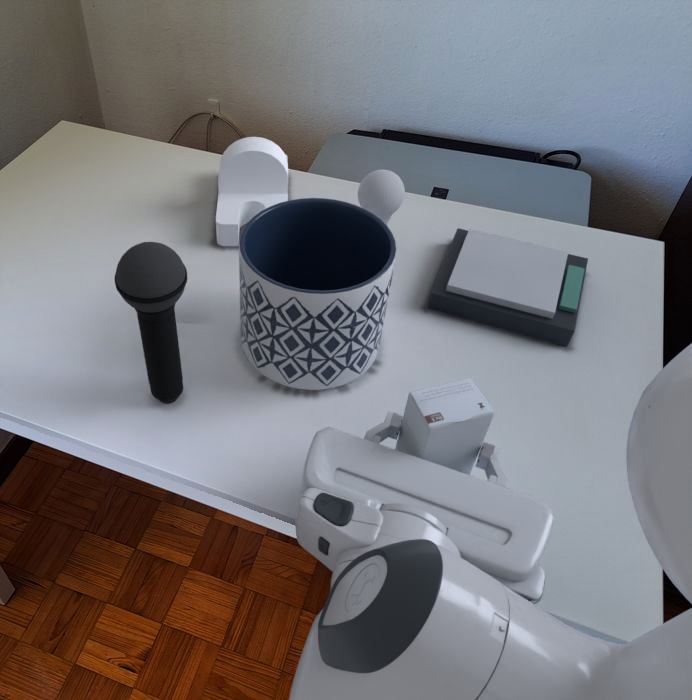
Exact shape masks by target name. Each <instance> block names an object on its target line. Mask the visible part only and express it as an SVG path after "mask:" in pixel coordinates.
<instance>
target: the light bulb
mask: <svg viewBox="0 0 692 700" xmlns="http://www.w3.org/2000/svg"><path fill="white" fill-rule="evenodd" d="M405 195H406V190H405V185H404V182H403V180H402V178H401V177H400V176H399V175H398V174H397V173H395V172H393V171H391V170H388V169H376V170H373V171H371V172H369V173H368V174H366V175H365V176H364V177H363V179H362V180H361V182H360V183H359V185H358V188H357V201H358V204H359V205H360V206H359V207H361V208H364V209H366V210H368V211H369V212H371V213H373V214H374V215H376V216H377V217H378V218H380V219H381V220H382V221H383V222H384V223H385V224H386V225H387V226H388V223H389V222H390V220H391V218H392V216H393V215H394V214H395V213H396V212H397V211H398V210H399V209H400V207H402V204H403V203H404V199H405Z"/></svg>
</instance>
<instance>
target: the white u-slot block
mask: <svg viewBox="0 0 692 700" xmlns="http://www.w3.org/2000/svg"><path fill="white" fill-rule="evenodd" d="M288 160H289V159H288V155H287V154H286V153H285V151H284V150H283V149H282V148H281V147H280V146H279V145H278V144H277V143H275V142H274V141H272V140H271V139H267V138H264V137H259V136H247V137H243V138H240V139H237V140H236V141H234V142H233V143H231V144H230V145H228V147H226V149H225V150H224V151H223V153H222V156H221V158H220V162H219V170H218V179H217V188H218V189H217V190H218V193H217V194H218V195H217V204H216V213H215V231H216V234H215V235H216V243H217V244H218V245H219V246H222V247H239V241H240V230H241V227H243V226H246V224H247V223H248V222H249V221H250V220H251V219H252V218H253V217H254V216H255V215H256V214H258V213H259V212H261V211H262V210H264V209H266V208H268V207H270V206H273V205H275V204H278V203H281V202H285V201H289V163H288Z"/></svg>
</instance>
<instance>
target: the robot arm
mask: <svg viewBox="0 0 692 700" xmlns="http://www.w3.org/2000/svg"><path fill="white" fill-rule="evenodd" d="M403 416H404V415H402V414H399V413H396V412H394V411H391V410H388V411H387V413H386V416H385V419H384V421H383V422H381V423H379V424H377V425H375V426H374V427H372V428H370V429H368V430H367V431H366V432H365V435H364V436H363V437H360V436H357V435H354V434H351V433H348V432H345V431H343V430H340V429H338V428H335V427H331V426H327V427H325V428H321V429H319V430H318V431H316V432H315V434H314V436H313V438H312V441H311V442H310V446H309V449H308V451H307V454H306V458H305V462H304V466H303V473H302V482H301V496H300V499H299V501H298V505H297V507H296V508H297V509H296V514H295V535H296V541H297V543H298V545H300V547H302V549H304V550H305V551H306V552H307V553H309V554H310V555H311V556H313V557H314V558H315V559H317V561H319V562H320V563H322V564H323V565H324V566H325V567H326V568H328V570H330V571H331V572H332V574H331V577H330V578H331V579H330V590H329V593H328V596H327V598H326V600H325V602H324V606H323V608H322V609H321V610H320V611H319V612H318V613H317V615H316V616H315V618H314V620H313V622H312V625H311V627H310V629H309V632H308V635H307V637H306V640H305V643H304V645H303V649H302V651H301V654H300V657H299V661H298V664H297V667H296V670H295V673H294V677H293V680H292V684H291V687H290V692H289V696H288V700H692V607H691V608H689V609H687V610H685V611H683V612H681V613H680V614H678V615H676V616H674V617H672V618H671V619H669V620H667V621H665V622H663V623H661V624H660V625H658V626H656V627H655V628H652V629H651V630H650V631H647V632H645V633H643V634H642V635H640V636H638V637H636V638H634V639H632V640H631V641H629V642H626V643H616V642H611V641H608V640H605V639H601V638H598V637H596V636H592V635H590V634H587V633H585V632H583V631H580V630H578V629H576V628H574V627H571V626H570V625H568V624H566V623H564V622H562V621H561V620H560V619H558V618H556V617H555V616H553V615H551V614H550V613H548V612H547V611H546V610H544V609H542V608H540V607H539V606H537V604H538V603H539V602H540V601H541V600H542V598H543V596H544V590H545V585H546V573H545V570H544V567H543V566H542V564H541V559H542V558H543V556H544V554H545V551H546V548H547V546H548V543H549V541H550V537H551V535H552V532H553V531H552V530H553V527H554V523H555V513H554V512H553V510H552V508H551V507H550V505H549V503H548V502H546V501H545V500H542V499H540V498H536V497H534V496H530V495H528V494H525V493H523V492H519V491H517V490H514V489H512V488H511V489H510V488H508V487H507V483H508V478H507V476H506V474H505V472H504V470H503V468H502V465H501V463H500V461H498V460H499V455H500V452H501V447H500V446H497V445H494V444H491V443H488V442H485V441H483V443H482V446H481V448H480V451H479V453H478V456H477V459H476V462H475V463H476V464H475V467H476V468H478V469H481V470H483V471H484V473H485V475H486V479H487V480H484V479H481V478H479V477H476V476H472V475H471V474H470V475H467V474H464V473H461V472H459V471H456V470H453V469H450V468H447V467H444V466H441V465H438V464H435V463H433V462H430V461H427V460H424V459H421V458H418V457H415V456H412V455H409V454H406V453H404V452H401V451H398V450H395V448H392V447H389V446H386V445H383V444H381V443H382V442H383V441H385V440H387V439H388V438H390V439H393V440H398V436H399V432H400V428H401V424H402V420H403ZM625 448H626V450H625V453H626V454H625V460H626V463H625V464H626V475H627V482H628V487H629V492H630V496H631V500H632V504H633V508H634V511H635V514H636V517H637V520H638V523H639V525H640V529H641V530H642V532H643V535H644V537H645V539H646V542H647V544H648V546H649V547H650V550H651V551H652V554H653V555H654V557H655V558H656V560H657V562H658V563H659V565H660V567H661V568H662V570H663V571H664V573H665V575H666V576H667V577H668V579H669V580H670V581H671V583H672V584H673V585H674V586H675V588H676V589H677V590H678V591H679V592H680V594H681V595H683V597H684V598H685V599H686V600H687V601H688V602H689V603H690V604H691V605H692V342H691V343H690V344H689V345H687V346H686V347H685V348H684V349H683V350H681V351H680V352H679V353H678V354H677V355H675V357H673V358H672V359H671V360H670V361H669V362H668V363H667V364H666V365H665V366H664V367H663V368H662V369H661V370H660V371H659V372H658V373H657V374H656V375H655V376H654V378H653V379H652V380H651V381H650V382H649V383H648V384H647V386H646V387H645V389H644V390H643V392H642V393H641V395H640V397H639V400H638V401H637V404H636V406H635V408H634V411H633V414H632V417H631V421H630V425H629V428H628V433H627V440H626V447H625Z"/></svg>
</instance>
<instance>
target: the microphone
mask: <svg viewBox="0 0 692 700" xmlns="http://www.w3.org/2000/svg"><path fill="white" fill-rule="evenodd" d="M187 282H188V270H187V267H186V265H185V264H184V262H183V260H182V258H181V257H180V256H179V254H178V253H177V252H176V250H174V249H173V248H171V247H170V246H168V245H166V244H164V243H162V242H158V241H157V242H156V241H143V242H140V243H136V244H135V245H133V246H131V247H129V248H128V249H127V250H126V251H125V252H124V253H123V254H122V255H121V257H120V259H119V261H118V263H117V265H116V270H115V273H114V285H115V289H116V291H117V292H118V294H119V295H120V296H121V298H122V299H123V301H124V302H125V303H126V304H128V305H129V306H130V307H131V308H133V309H134V310H135V312H136V316H137V321H138V329H139V333H140V338H141V345H142V351H143V357H144V362H145V363H144V364H145V368H146V369H145V370H146V374H147V380H148V385H149V390H150V392H151V395H152V397H154V399H156V400H157V401H158V402H160V403H162V404H165V405H170V404H173V403H175V402H176V401H177V400H178V399H179V398H180V396H181V395H182V393H183V391H184V382H183V379H184V377H183V369H182V360H181V352H180V342H179V336H178V335H179V334H178V325H177V318H176V308H175V307H176V303H177V302H178V301H179V300H180V298H181V297H182V296H183V294H184V291H185V288H186V286H187Z"/></svg>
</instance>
